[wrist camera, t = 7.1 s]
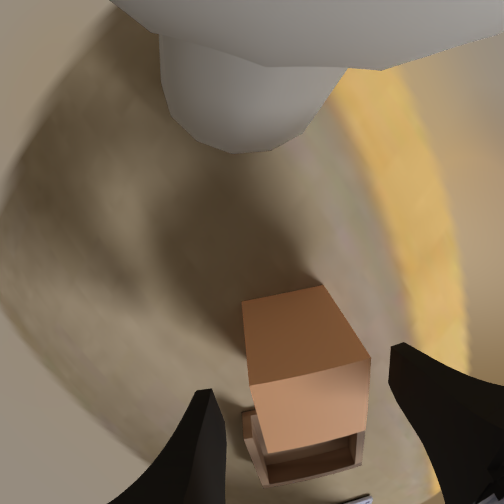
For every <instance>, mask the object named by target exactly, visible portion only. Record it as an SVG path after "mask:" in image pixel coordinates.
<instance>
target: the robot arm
mask: <svg viewBox="0 0 504 504" xmlns="http://www.w3.org/2000/svg"><path fill="white" fill-rule="evenodd" d="M388 383H389V386H390V388H391V390H392V393H393V395H394V397H395V399H396V401H397V403H398V405H399V406H400V408H401V409H402V411H403V413H404V414H405V416H406V417H407V419H408V421H409V422H410V424H411V425H412V427H413V428H414V430H415V432H416V433H417V435H418V436H419V438H420V440H421V442H422V443H423V445H424V447H425V449H426V452H427V454H428V456H429V459H430V461H431V463H432V466H433V468H434V471H435V473H436V476H437V479H438V481H439V484H440V487H441V490H442V494H443V497H444V500H445V504H504V386H501V385H497V384H492V383H489V382H485V381H482V380H479V379H476V378H474V377H471V376H468V375H466V374H463V373H461V372H459V371H457V370H454V369H452V368H450V367H448V366H446V365H444V364H442V363H440V362H438V361H437V360H435V359H433V358H431V357H429V356H428V355H426V354H424V353H422V352H421V351H419V350H417V349H415V348H414V347H412V346H410V345H408V344H406V343H404V342H403V343H400V344H397V345H394V346H391V353H390V367H389V380H388ZM226 447H227V442H226V430H225V421H224V419H223V416H222V414H221V411H220V409H219V406H218V404H217V401H216V398H215V396H214V393H213V390H212V388H211V389H204V390H197V391H196V392H195V393H194V396H193V398H192V400H191V402H190V404H189V406H188V408H187V410H186V412H185V414H184V416H183V418H182V419H181V421H180V423H179V425H178V427H177V428H176V430H175V432H174V433H173V435H172V436H171V438H170V440H169V441H168V443H167V444H166V446H165V447H164V449H163V450H162V451H161V453H160V454H159V455H158V457H157V458H156V459H155V460H154V462H153V463H152V464H151V465H150V466H149V468H148V469H147V470H146V471H145V472H144V473H143V474H142V475H141V476H140V477H139V478H138V479H137V480H136V481H135V482H134V483H133V484H132V485H131V486H130V487H128V488H127V489H126V490H125V491H124V492H123V493H121V494H120V495H119V496H118V497H116V498H115V499H114V500H112V501H111V502H109V503H108V504H225V471H226ZM372 500H373V498H372V496H367V497H364V498H361V499H358V500H355V501H351V502H348V503H345V504H371V503H372Z"/></svg>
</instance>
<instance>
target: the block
mask: <svg viewBox="0 0 504 504" xmlns="http://www.w3.org/2000/svg"><path fill="white" fill-rule="evenodd" d="M242 312H243V323H244V334H245V345H246V356H247V366H248V377H249V386H250V390H251V394H252V397H253V401H254V405H255V409H256V412H257V416H258V420H259V423H260V427H261V430H262V434H263V438H264V441H265V445H266V448H267V452H268V453H274V452H280V451H285V450H290V449H295V448H300V447H304V446H309V445H313V444H317V443H322V442H326V441H330V440H333V439H337V438H341V437H344V436H348V435H351V434H355V433H358V432H361V431H365V430H366V421H367V410H368V398H369V384H370V366H371V357H370V356H369V354H368V352H367V351H366V349H365V348H364V346H363V345H362V343H361V341H360V340H359V338H358V337H357V335H356V334H355V332H354V331H353V329H352V328H351V326H350V324H349V323H348V321H347V320H346V318H345V317H344V315H343V314H342V312H341V311H340V309H339V308H338V306H337V305H336V303H335V302H334V300H333V299H332V297H331V296H330V294H329V293H328V291H327V290H326V288H325V287H324V285H320V286H316V287H311V288H306V289H301V290H297V291H292V292H287V293H282V294H277V295H272V296H267V297H262V298H257V299H252V300H247V301H242Z"/></svg>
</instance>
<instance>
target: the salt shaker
mask: <svg viewBox="0 0 504 504" xmlns="http://www.w3.org/2000/svg"><path fill="white" fill-rule="evenodd" d="M110 1H111V2H112V3H114V4H115V5H116V6H118V7H119V8H120V9H122V10H123V11H124V12H126V13H127V14H128V15H129V16H131V17H132V18H133V19H135V20H136V21H137V22H138V23H140V24H141V25H142V26H143V27H145V28H146V29H147V30H148V31H150V32H151V33H156V34H159V51H160V72H161V85H162V88H163V91H164V95H165V98H166V101H167V105H168V108H169V111H170V115H171V117H172V118H173V119H174V120H175V121H177V122H178V123H179V124H180V125H181V126H182V127H183V128H184V129H185V130H186V131H187V132H188V133H189V134H190V135H191V136H192V137H193V138H194V139H195V140H196V141H198V142H200V143H203V144H206V145H209V146H212V147H215V148H217V149H220V150H223V151H226V152H228V153H231V154H238V153H249V152H261V151H271V150H273V149H275V148H277V147H278V146H280V145H282V144H284V143H286V142H288V141H289V140H291V139H293V138H295V137H297V136H299V135H301V134H302V133H303V132H304V131H305V129H306V128H307V126H308V125H309V124H310V122H311V121H312V119H313V118H314V116H315V115H316V114H317V112H318V111H319V109H320V108H321V107H322V105H323V103H324V102H325V100H326V99H327V97H328V96H329V94H330V93H331V92H332V90H333V89H334V87H335V86H336V84H337V83H338V82H339V80H340V79H341V77H342V76H343V74H344V73H345V72H346V70H347V69H348V68H357V69H370V70H380V71H382V70H385V69H388V68H391V67H394V66H397V65H400V64H403V63H407V62H410V61H413V60H417V59H420V58H423V57H427V56H429V55H432V54H435V53H438V52H441V51H444V50H447V49H450V48H453V47H457V46H460V45H463V44H467V43H470V42H474V41H477V40H481V39H484V38H488V37H492V36H495V35H498V34H500V33H502V32H503V31H504V0H110Z"/></svg>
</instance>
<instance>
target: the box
mask: <svg viewBox="0 0 504 504" xmlns="http://www.w3.org/2000/svg"><path fill="white" fill-rule="evenodd" d="M242 422H243V436H244V441H245V444H246V446H247V449H248V452H249V454H250V457H251V459H252V462H253V464H254V467H255V469H256V472H257V474H258V477H259V479H260V481H261V484H262V486H263V488H269V487H275V486H281V485H286V484H291V483H296V482H301V481H306V480H310V479H314V478H319V477H323V476H327V475H330V474H334V473H338V472H341V471H345V470H348V469H352V468H355V467H358V466H361V465H362V456H363V447H364V437H365V431H361V432H358V433H355V434H351V435H348V436H344V437H341V438H337V439H333V440H330V441H326V442H322V443H317V444H313V445H309V446H304V447H300V448H295V449H290V450H285V451H280V452H274V453H268V452H267V448H266V445H265V441H264V438H263V434H262V430H261V427H260V423H259V420H258V416H257V412H256V410H253V411H247V412H242Z"/></svg>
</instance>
